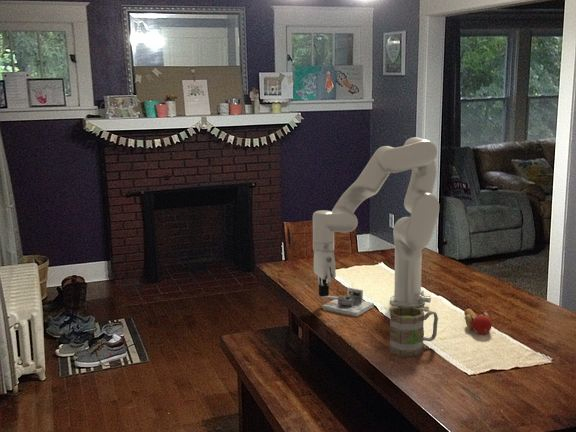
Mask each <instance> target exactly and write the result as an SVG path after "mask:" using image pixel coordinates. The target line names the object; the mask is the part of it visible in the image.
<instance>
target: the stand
mask: <svg viewBox="0 0 576 432" xmlns="http://www.w3.org/2000/svg"><path fill="white" fill-rule="evenodd" d="M346 289H347V291H346V293H347V294H346V296H352V297H354V298H355V303H354V304H353V305H350V306H342V305H339V304H338V300H336V299H331V300H330V301H329V302H326V303H325V304H323V305H322V311H323V310H324V311H328V312H333V313H337V314H341V315H346V316H351V317H355V318H358V317H359V316H361V315H362V314H364V313H366V312H367V311H369V310H371V309H373V308H374V306H375V305H374V302H371V301H366V300H364V290H363V289H359V288H356V287H355V288H354V287H347V288H346Z"/></svg>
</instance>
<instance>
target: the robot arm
mask: <svg viewBox="0 0 576 432" xmlns="http://www.w3.org/2000/svg"><path fill="white" fill-rule="evenodd" d="M437 155H438V150H437V146H436V145H435V143H433V141H432V140H429V139H424V138H421V137H415V136H414V137H410V138H408V139H406V141H405V142H404V144H403V146H402V145H401V146H397V147H393V146H390V145H384V146H380V147H379V148H377V149H376V150H375V151H374V154H373V155H372V156H371V158H370V159H369V160H368V162H367V164H366V166H365V167H364V168H363V170H362V171H361V173H360V174H359V176H358V177H357V178H356V180H355V181H354V182H353V183H352V184H351V185H350V186H349V187H348V188H347V189H346V190H345V191H344V192H343V193H342V195H341V196H340V197H339V199H338V200H337V202H336V203H335V205H334V207H333V208H332V209H331V210H324V209H323V210H320V209H319V210H316V211H314V212H313V214H312V251H313V272H314V273H313V274H315V275H316V276H317V282H318V283H317V284H318V296H320V298H321V297H323V296H330V284H332V279H335V278H336V277H337V275H336V274H337V273H336V272H337V271H336V257H335V252H334V251H335V232H336V233H344V234H346V233H350V232H354V230H356V229H357V227H358V224H359V221H358V218H357V216H356V214H355V211H356V210H357V208H359V206H360V205H361V204H362V203H363V202H364V201H365V200H367V199H368V198H371V197H374V196H375V195H377V194H378V192H380V190H381V188H382V187H383V185H384V183H385V182H386V181H387V179H388V178H389V176H390V174H396V173H397V174H398V173H402V172H407V171H410V170H411V174H410V179H409V184H408V186H407V191H406V193H405V196H404V200H403V201H404V202H403V207H404V209H405V210H406V211H407V212H408V213H409V214H410V216H403V217H401V218H399V219H398V220H397V221H396V222H395V224H394V226H393V231H392V234H393V244H394V291H393V292H394V293H393V295H392V296H391V297H390V298H389V302H390V303H391V304H392V305H394V306H396V307H398V306H409V307H415V308H418V307H421V306H424V305H425V303H431V301H432V297H431V295H426V294H425V293H424V290H422V258H423V257H422V256H423V255H422V250H424V249H425V248H426V247H427V246H428V245H429V243H430V242H431V240H432V238H433V234H434V230H435V227H436V224H437V220H438V217H439V214H440V203H439V202H440V201H439V199H438V198H437V196H436V195H435V194H433V191H434V188H435V187H434V186H435V183H436V177H437V165H436V164H437V163H436V158H437Z"/></svg>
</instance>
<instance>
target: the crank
mask: <svg viewBox="0 0 576 432" xmlns="http://www.w3.org/2000/svg"><path fill="white" fill-rule="evenodd" d="M320 298H321V299H328V300H334V299H336V300H338V304H339V305H342V306H350V305H353V304H354V303H355V298H354V297H352V296H347V295H340V296H333V295H328V296H323V297H321V296H320Z"/></svg>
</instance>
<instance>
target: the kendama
mask: <svg viewBox="0 0 576 432" xmlns="http://www.w3.org/2000/svg"><path fill="white" fill-rule="evenodd" d="M463 314H464V317H465V318H464V319H465V324H466V327H467V329H468V328H469V329H468V330H473V331H474V332H476V333H477V334H479V335H486V334H488V333H489V332H490V331H491V330H492V320H491V319H490V316H489V314H488V312H483V313H482V314H480V315H477V314H476V313H475V312H474V311H473V310H472V309H471V308H466V309H465V310H464V313H463Z"/></svg>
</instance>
